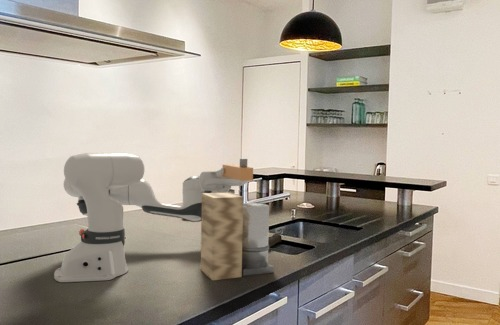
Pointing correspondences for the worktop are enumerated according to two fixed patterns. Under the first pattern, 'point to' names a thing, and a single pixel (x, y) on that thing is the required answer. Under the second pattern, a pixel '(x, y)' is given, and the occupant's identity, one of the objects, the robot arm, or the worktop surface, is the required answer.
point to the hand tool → (274, 239)
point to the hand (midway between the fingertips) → (231, 169)
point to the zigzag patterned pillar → (221, 235)
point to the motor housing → (255, 239)
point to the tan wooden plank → (239, 171)
